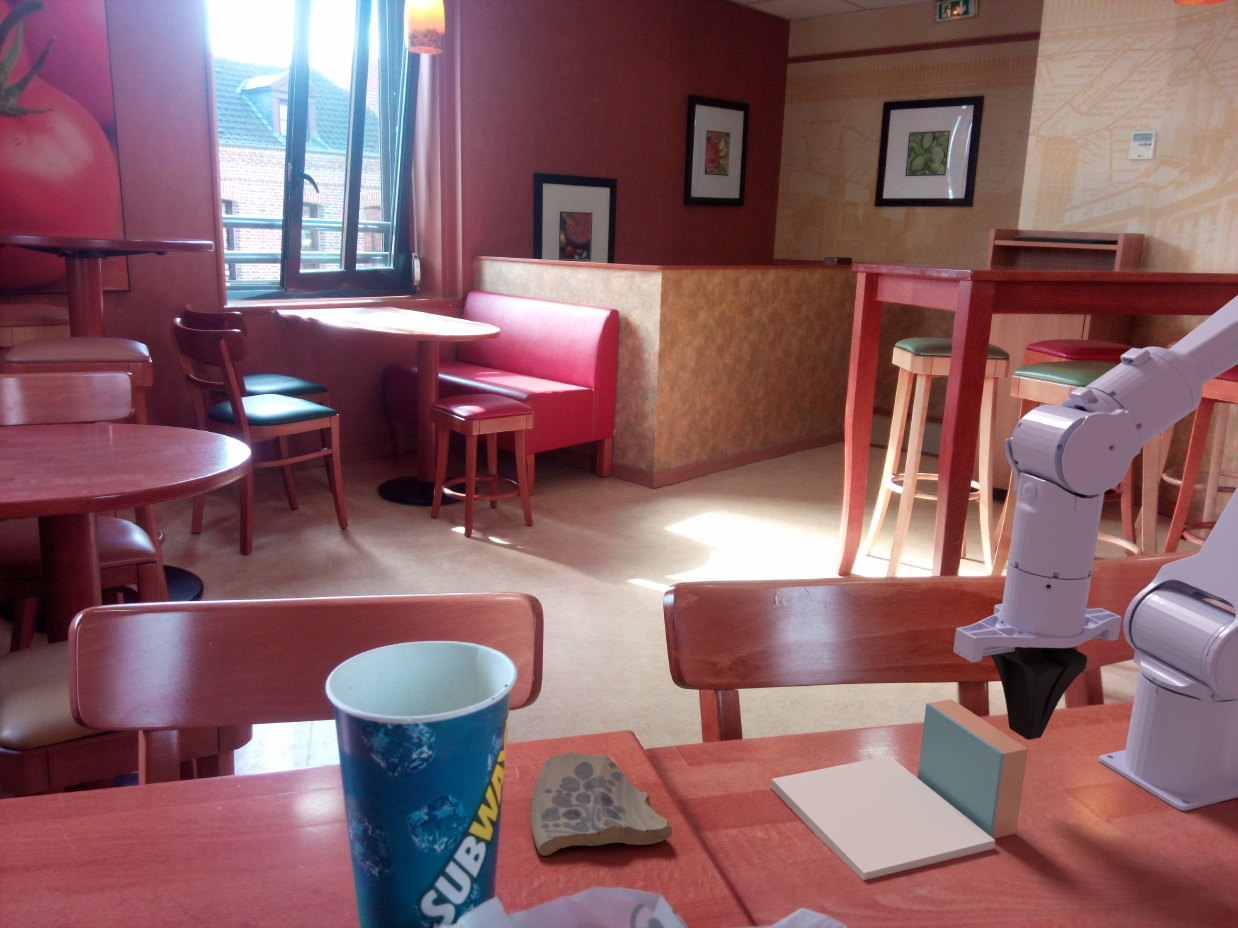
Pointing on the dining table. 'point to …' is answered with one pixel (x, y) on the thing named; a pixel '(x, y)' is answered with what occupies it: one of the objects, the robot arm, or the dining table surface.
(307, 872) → the dining table surface
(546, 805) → the ceramic fragment
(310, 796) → the dining table surface
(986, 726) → the glazed tile
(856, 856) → the pale grey mat
